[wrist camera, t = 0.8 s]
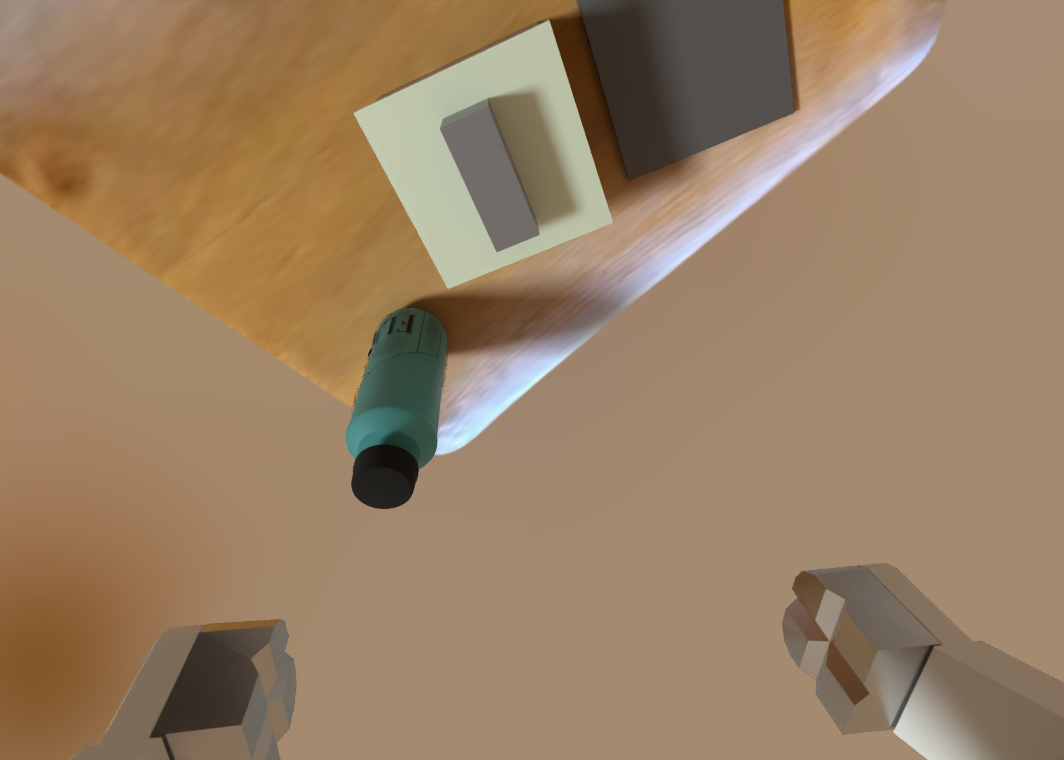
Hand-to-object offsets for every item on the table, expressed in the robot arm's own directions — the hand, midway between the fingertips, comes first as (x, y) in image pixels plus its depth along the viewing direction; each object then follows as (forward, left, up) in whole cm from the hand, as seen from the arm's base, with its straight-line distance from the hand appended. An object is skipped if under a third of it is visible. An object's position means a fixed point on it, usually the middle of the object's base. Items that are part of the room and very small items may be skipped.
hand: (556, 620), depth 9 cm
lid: (+1, +1, -33) cm, 33 cm away
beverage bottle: (+14, +13, -40) cm, 44 cm away
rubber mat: (-14, +1, -40) cm, 42 cm away
